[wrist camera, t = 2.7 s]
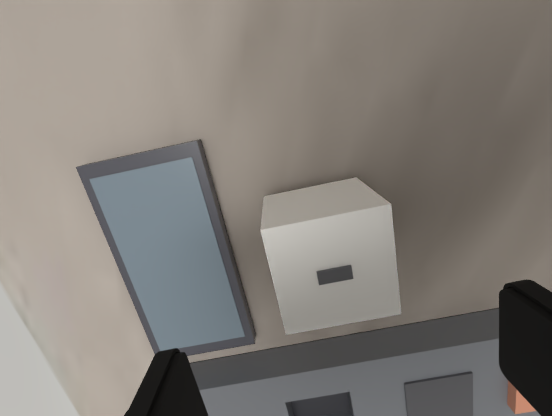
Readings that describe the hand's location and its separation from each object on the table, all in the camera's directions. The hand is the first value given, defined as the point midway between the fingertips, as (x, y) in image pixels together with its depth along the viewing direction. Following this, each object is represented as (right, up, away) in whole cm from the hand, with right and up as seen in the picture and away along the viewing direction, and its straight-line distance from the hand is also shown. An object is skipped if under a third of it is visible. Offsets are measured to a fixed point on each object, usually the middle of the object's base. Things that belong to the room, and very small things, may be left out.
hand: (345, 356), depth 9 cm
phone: (-8, +1, +11) cm, 14 cm away
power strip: (+7, -8, +14) cm, 18 cm away
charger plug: (0, +4, +10) cm, 11 cm away
